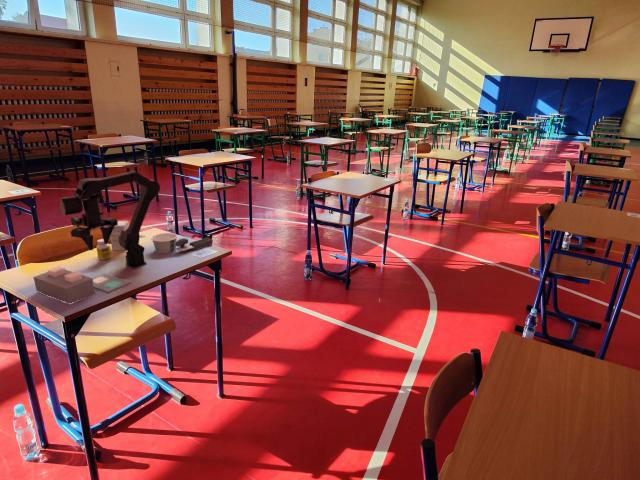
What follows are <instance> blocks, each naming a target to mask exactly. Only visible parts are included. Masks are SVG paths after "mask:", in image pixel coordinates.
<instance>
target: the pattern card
mask: <svg viewBox="0 0 640 480" xmlns="http://www.w3.org/2000/svg"><path fill="white" fill-rule="evenodd" d="M91 278H92V279H93V285H94V290H95V289H96V290H98V291H101V292H104V293H107V294H109V293H112V292H113V291H116V290H118V289H121V288H123V287H126V286H128V285H130V284H132V283H131V281H130V280H126V279H123V278H120V277H117V276H114V275H110V274H107V273H102V274H100V275H97V276H95V277H91Z"/></svg>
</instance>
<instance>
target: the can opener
mask: <svg viewBox="0 0 640 480" xmlns="http://www.w3.org/2000/svg"><path fill="white" fill-rule="evenodd" d="M209 244H211V245H213V239H212V238H209V237H204V238H202V239H198V240H194V241H192V242H191V241H190V242H189V239H188V238H186V237H185V238H179V239H178V240H176V249H175V250H177V251H178V252H185V251H188V250H192V249H193V250H195V249H196V250H199V249H201V248H205V247H208V246H211V245H209Z"/></svg>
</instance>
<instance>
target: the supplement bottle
mask: <svg viewBox="0 0 640 480" xmlns="http://www.w3.org/2000/svg"><path fill="white" fill-rule="evenodd" d="M111 252H112V251H111V244H109V242H108V243H107V244H105V243H104V240H103V238H101V239H97V245H96V254H97V259H98V261H99V263H108V262H111V261H112V259H113V257H112V253H111Z"/></svg>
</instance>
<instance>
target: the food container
mask: <svg viewBox="0 0 640 480" xmlns="http://www.w3.org/2000/svg"><path fill="white" fill-rule="evenodd" d="M177 238H178V234H176V233H173V232H164V233H163V232H162V233H158V234H155V235H153V236H152V237H151V238H150V239H151V241H152V242H153V243H152V244H153V246H154V250H155V251H156V253H159V254H167V253H172V252H175V251H176V250H177V249H176V248H177V246H176V242H177Z"/></svg>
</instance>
